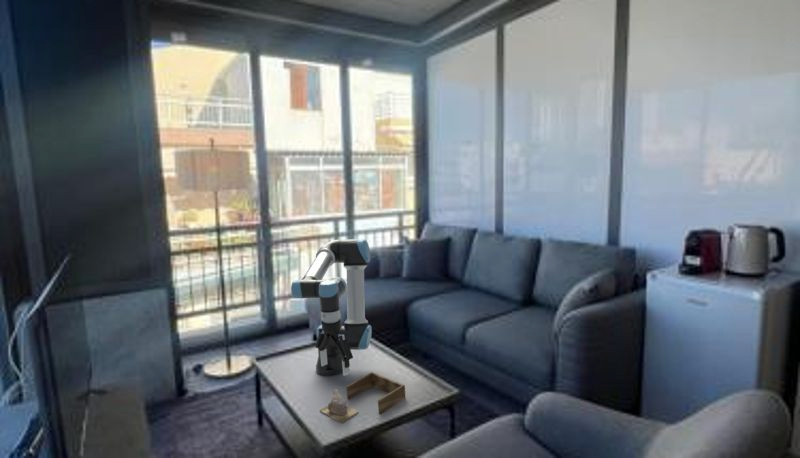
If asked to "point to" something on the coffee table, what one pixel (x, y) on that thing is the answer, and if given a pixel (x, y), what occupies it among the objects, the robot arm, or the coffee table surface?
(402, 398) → the brown open u-shaped frame
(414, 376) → the coffee table surface
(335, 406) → the mineral specimen
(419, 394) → the coffee table surface
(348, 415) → the mat
